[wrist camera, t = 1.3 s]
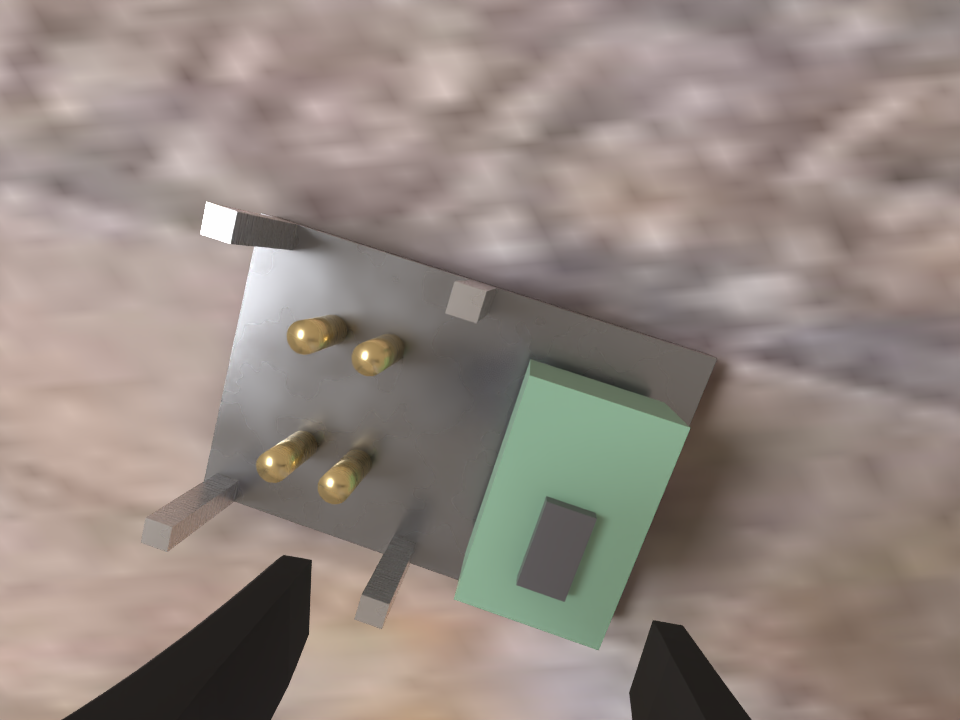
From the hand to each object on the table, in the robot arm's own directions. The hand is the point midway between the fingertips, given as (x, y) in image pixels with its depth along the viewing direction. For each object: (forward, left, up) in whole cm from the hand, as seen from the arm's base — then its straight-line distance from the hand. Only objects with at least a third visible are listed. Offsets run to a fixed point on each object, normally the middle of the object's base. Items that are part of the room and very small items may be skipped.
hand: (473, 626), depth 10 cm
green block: (-2, 0, -9) cm, 9 cm away
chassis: (+3, 0, -11) cm, 11 cm away
